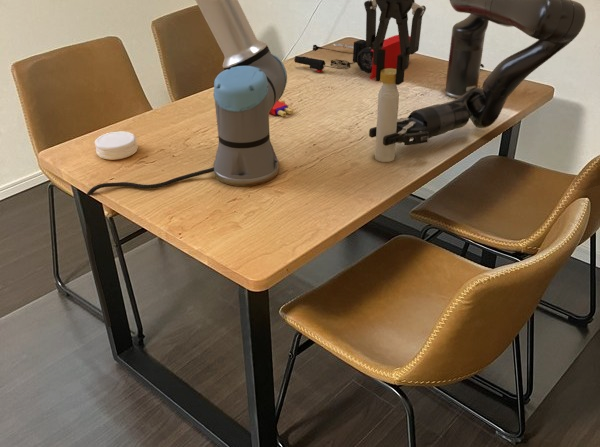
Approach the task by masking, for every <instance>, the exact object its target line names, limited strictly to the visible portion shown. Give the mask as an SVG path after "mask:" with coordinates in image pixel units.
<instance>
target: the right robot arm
mask: <svg viewBox="0 0 600 447" xmlns="http://www.w3.org/2000/svg"><path fill="white" fill-rule="evenodd" d="M449 4H450V6H451V7H452V9H453V10H454V11H455V12H457V13H461V14H463V13H464V14H469V15H468V16H467V17H466V18H464V19H462V20H461V21H459V22H456V23H455V24H454V25H453V26H452V29H451V35H450V36H451V37H450V45H449V46H450V47H449V54H448V55H449V56H448V64H447V71H446V80H445V88H444V94H445V95H446V96H448V97H449V98H453V99H454V100H451V101H447V102H443V103H438V104H433V105H429V106H426V107H422V108H418V109H415V110H413V111H411V113H410V114H409V115H408V116H407V117H401V118H397V130H396V133H394V134H390V135H387V136H384V138H383V144H384V145H385V146H387V145H391V144H394V143H395V144H404V146H413V145H420V144H426V143H428V141H429V139H430V138H434V137H437V136H441V135H444V134H446V133H448V132H450V131H453V130H457V129H460V128H463V127H465V126H466V125H467V124H468V123H469V121H471V123H472V124H473V125H474V126H475V127H477V128H478V129H486V128H488V127H490V126H491V125H493V124H495V122H496V121H497V119H498V118H499V117H500V114H502V110H503V108H504V106H505V104H506V102H507V99H508V97H510V96H511V95H512V93H514V91H515V90H516V89H517V88H518V87H519V85H520V84H521V83H522V82H523V81H524V80H525V79H526V78H527V77H528V76H530V74H532V73H534V71H535V70H536V69H538V68H539V67H540V66H542V65H543V64H544V63H546V62H547V61H548V60H550V59H551V58H552V57H554V56H555V55H556V54H558V53H559V52H560V51H562V50H563V49H564V48H565V47H567V46H568V45H570V43H572V42H573V41H574V40H575V39H576V37H578V35H579V34H580V33H581V31H582V29H583V27H584V26H585V22H586V16H587V15H586V14H587V12H586V9H585V6H584V5H583V4H582V3H580V2H578V1H576V0H449ZM489 22H492V23H493V24H496V25H499V26H502V27H506V28H513V27H515V28H516V29H518V30H519V31H521V32H522V33H523V34H526V35H527V36H528V37H531V38H533V39H534V40H535V39H536V41H534V42H533V43H532V44H530V45H528V46H527V47H524V49H523V48H522V49H521V50H519V51H517V52H515V53H513V54H511V55H510V56H508V57H506V58H504V59H503V60H501V61H500V62H499V63H498V64H497V65H496V66H495V67H494V69H493V70H492V71H491V72H490V73H489V74H488V76H487V77H486V78H485V80H484V81H483V82H482V87H478V86H479V78H480V72H481V68H482V69H483V68H485V65H484V64H483V63H482V58H483V53H484V52H483V51H484V44H485V37H486V32H487V29H488V26H489ZM376 128H377V126H374V127H370V128H369V131H368V136H369V137H370V138H376Z"/></svg>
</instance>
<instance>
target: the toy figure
mask: <svg viewBox="0 0 600 447" xmlns="http://www.w3.org/2000/svg"><path fill="white" fill-rule="evenodd" d="M269 114H271V115H273V116H281V117H286V116H287V114H288V115H291V114H294V109H292V108H289V106H288V104H287V103H286V101H285V100H281V99H279V100H278V101H277V102H276V104H275V105H274V106H273V108H272V109H271V111H270V112H269Z"/></svg>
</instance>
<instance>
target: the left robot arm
mask: <svg viewBox="0 0 600 447" xmlns="http://www.w3.org/2000/svg"><path fill="white" fill-rule="evenodd" d="M415 1H416V0H366V1H364V2H363V6H364V9H365V13H366V14H365V15H366V16H365V18H366V19H365V22H366V23H365V41H366V46H367V47H370V48H372V49H373V51H374V56H373V64H374V65H376V78H375V81H376V82H381V81H380V73H381V70H383V69H384V67H385V51H386V50H384V49H382V50H381V48H383V47H384V46H383V43H384V40H385V39H386V36H387V31H388V28H389V24H390V20H392V19H393V20H395V23H396V25H397V32H398V35H399V41H400V49H401V54H400V55H398V56H397V68H396V69H397V70H396V86H400V85H401V84H402V83H404V82H405V71H407V69H408V68H409V67H410V55H414V54H416V53H417V52H418V51H419V48H420V40H421V30H422V22H423V16H424V15H425V12H426V9H427V7H426V6H425V5H420V4H418V3H416V2H415ZM195 2H196V4H197V6H198V8H199V10H200V12H201V14H202V16H203V18H204V20H205V21H206V23H207V25H208V28H209V29H210V31H211V33H212V35H213V37H214V39H215V41H216V42H217V45H218V47H219V49H220V50H221V52H222V54H223V57H224V59H223V63H222V68H223V71H220V72H219V73H218V75H216V77H215V78H214V81H213V82H214V83H213V100H214V106H215V116H216V127H217V135H218V145H217V149H216V153H215V159H214V162H213V164H212V167H210V168H206V169H202V170H198V171H195V172H191V173H187V174H184V175H181V176H177V177H175V178H174V177H173V178H171V179H168V180H166V181H162V182H158V183H152V184H142V183H136V182H129V181H119V182H103V183H99V184H96V185H94V186H92V187H91V188H90V189H89V190H88V191H87V192H86V196H92V195H93V194H94V193H95V192H96V191H98V190H100V189H103V188H118V187H119V188H120V187H130V188H135V189H142V190H143V189H144V190H150V189H158V188H162V187H165V186H169V185H172V184H174V183H178V182H181V181H185V180H188V179H190V178H194V177H198V176H202V175H205V174H209V173H210V174H211V173H213V176H214V177H215V179H217V181H219V182H220V183H223V184H225V185H228V186H229V185H230V186H234V187H251V186H252V187H253V186H257V185H261V184H265V183H267V182H269V181H271V180H273V179H274V178H275V177H276V176H277V175H278V174H279V171H280V166H279V164H280V163H279V159H278V156H277V154H276V151H275V149H274V146H273V144H272V142H271V138H270V136H271V135H270V134H271V133H270V113H269V112H270V111H271V109H272V108H273V106H274V105H275V104H276V102H277V101H280V100H281V98H282V97H283V95H284V92H285V89H286V87H287V83H288V72H287V69H286V67H285V65H284V63H283V61H282V60H281V59H280V58H279V57H278V56H277V55H274V54H273V53H272V52H271V50H270V48H269V46H268V44H267V43H266V42H264V41H261V40H259V39H258V38H257V37H256V35H255V33H254V32H255V31H254V30H253V28H252V26H251V24H250V22H249V20H248V18H247V16H246V14H245V12H244V10H243V8H242V6H241V4H240V2H239V0H195ZM377 8H378V9H379V10H380V15H379V18H378V21H379V22H378V26H377ZM410 10H412V11H411V15H412V19H411V26H410V27H411V28H410V31H409V24H408V22H409V16H408V14H409V12H410ZM409 32H410V33H409ZM409 34H410V35H409ZM409 36H410V41H409ZM85 233H86V243H87V248H88V254H89V258H90V263H91V267H92V271H93V274H94V279H95V282H96V286H97V290H98V294H99V298H100V301H101V305H102V308H103V312H104V317H105V322H106V326H107V328H110V327H112V324H111V319H110V318H111V317H110V314H109V309H108V305H107V302H106V298H105V297H106V296H105V294H104V290H103V286H102V282H101V279H100V275H99V271H98V267H97V263H96V258H95V254H94V248H93V243H92V235H91V226H90V225H89V224H87V222H85Z"/></svg>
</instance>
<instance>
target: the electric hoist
mask: <svg viewBox="0 0 600 447" xmlns="http://www.w3.org/2000/svg"><path fill="white" fill-rule="evenodd" d="M410 36H411V35H409V41H410ZM332 44H333V46H335V47H342V48H345V49H346V48H349V49H353V51H352V52H350V54H351V55H352V62H349V61H347V60H343V59H337V58H336V59H335V60H334V59H331V60H330V64H329V65H326V61H325V60H323V59H319V58H312V57H307V56H299V55H295V56H294V59H293V61H294V63H295V64H299V65H305V66H309V69H312V70H315V71H316V72H317V73H322V72H323V70H324V69H325V68H326V67H327V68H332V69H336V70H348V69H350V68H351V65H353V64H357V66H358V67H359V70H361V71H362V72H364V73H366V74H371V75H370V76H369V77H368V79H370V80H373V79H376V65H374V64H373V56H374V51H373V49H372V48H370V47H367V46H366V39H359V40H356V41H354V42H353V45H351V44H346V43H344V44H342V43H336V42H335V43H332ZM383 46H384V47H383V48H381V50H382V49H384V50H386V51H385V67H384V69H387V68H392V69H397V56H398V55H400V54H401V49H400V41H399V34H396V35H392V36H390V37H388V38H385V39H384V43H383ZM318 50H326V51H332V52H338V53H343V54H348V52H345V51H341V50H335V49H330V48H324V47H321V46H318V45H317V44H313V45H312V51H314V52H316V51H318Z"/></svg>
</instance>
